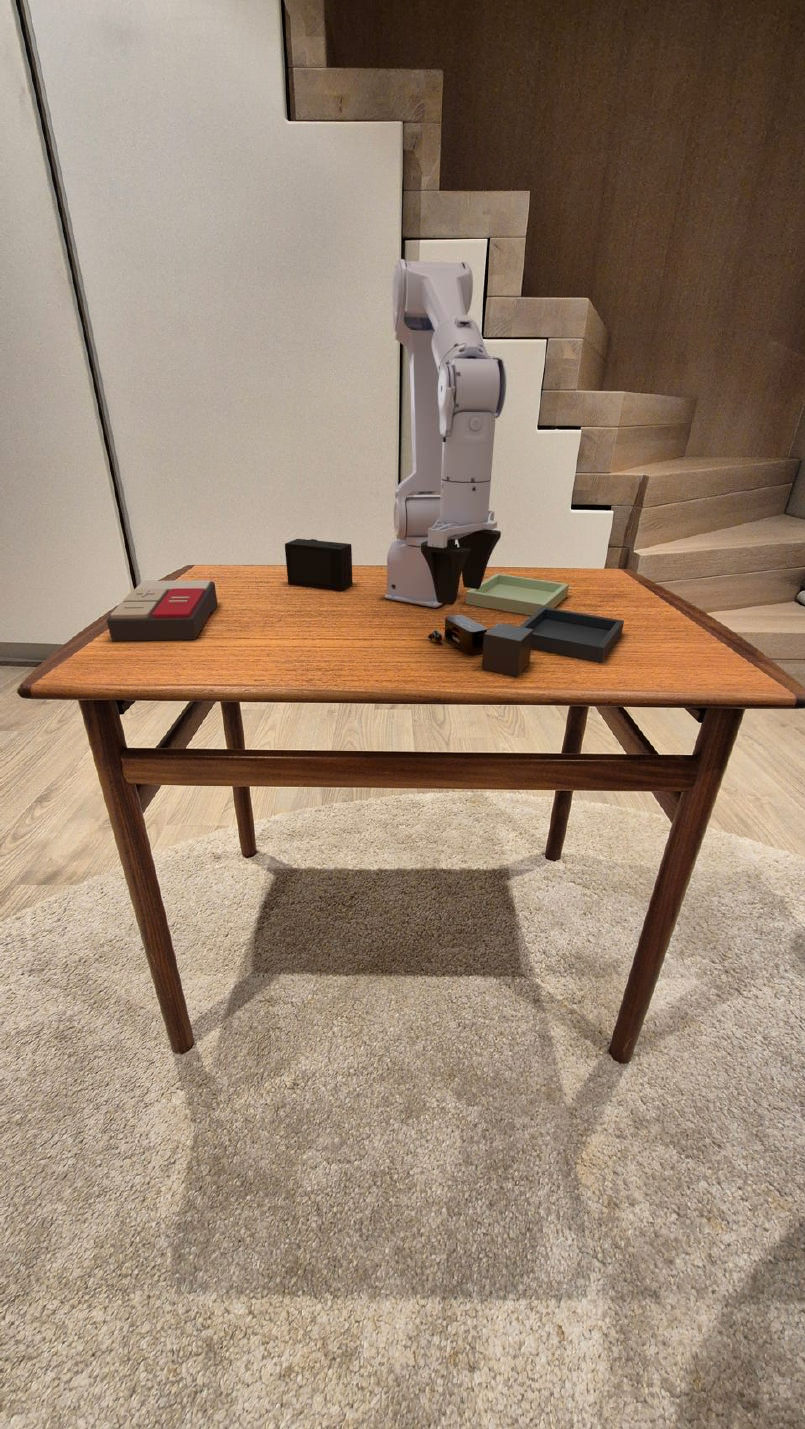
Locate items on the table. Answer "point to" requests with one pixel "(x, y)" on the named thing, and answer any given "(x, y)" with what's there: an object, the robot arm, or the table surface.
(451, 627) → the wireless earbuds
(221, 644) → the table surface
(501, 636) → the charcoal block
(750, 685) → the table surface
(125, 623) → the calculator
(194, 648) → the table surface
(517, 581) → the pale tray
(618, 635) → the dark tray
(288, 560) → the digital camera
